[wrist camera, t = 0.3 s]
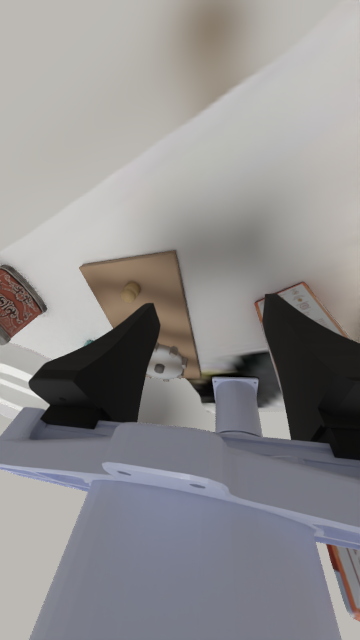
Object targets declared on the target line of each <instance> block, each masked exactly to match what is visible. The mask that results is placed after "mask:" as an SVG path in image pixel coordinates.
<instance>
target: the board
mask: <svg viewBox="0 0 360 640" xmlns="http://www.w3.org/2000/svg"><path fill="white" fill-rule="evenodd" d="M79 269H80V271H81V272H82V274H83V276H84V278H85V279H86V281H87V283H88V285H89V287H90V288H91V290H92V292H93V294H94V295H95V297H96V299H97V301H98V302H99V304H100V306H101V308H102V309H103V311H104V313H105V315H106V317H107V318H108V320H109V322H110V324H111V325H112V327H113V329H114V328H115V327H116V326H118V325H119V324H120V323H121V322H123V321H124V320H125V319H127V318H128V317H129V316H130V315H131V314H133V313H134V312H135V311H136V310H137V309H138V308H140V307H141V306H142V305H144V304H145V303H154V306H155V309H156V312H157V315H158V318H159V321H160V324H161V327H160V332H159V337H158V340H157V343H156V346H155V348H154V351H153V354H152V357H151V359H150V362H149V365H148V368H147V373H146V377H150V378H151V377H154V378H158V379H163V381H169V379H174V378H179V379H181V378H201V371H200V367H199V362H198V357H197V352H196V347H195V343H194V338H193V333H192V328H191V324H190V319H189V314H188V309H187V304H186V300H185V295H184V290H183V285H182V281H181V276H180V271H179V266H178V261H177V257H176V252H175V251H168V252H162V253H155V254H149V255H142V256H135V257H129V258H122V259H116V260H109V261H103V262H96V263H89V264H83V265H82V266H81V267H79Z"/></svg>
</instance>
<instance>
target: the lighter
mask: <svg viewBox="0 0 360 640" xmlns="http://www.w3.org/2000/svg"><path fill="white" fill-rule="evenodd" d="M46 310H47V307H46V305H45V304H44V302H43V301H42V299H41V298H40V296H39V295H38V294H37V292H36V291H35V290H34V289H33V287H32V286H31V285H30V284H29V283H28V282H27V281H26V280H25V279H24V278H23V277H22V276H21V275H20V274H19V273H18V272H17V271H16V270H15V269H14V268H12V267H11V266H8V265H2V266H0V345H5V344H7V343H8V342H9V341H10V340H11V338H12V337H13V336H14V335H15V334H16V333H18V332H19V331H20V330H21V329H23V328H24V327H25V326H26V325H27V324H29V323H30V322H31V321H32V320H34V319H35V318H36V317H37V316H38V315H41V314H43V313H44V312H45V311H46Z"/></svg>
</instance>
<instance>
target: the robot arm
mask: <svg viewBox="0 0 360 640" xmlns="http://www.w3.org/2000/svg"><path fill="white" fill-rule="evenodd" d="M262 323H263V328H264V333H265V336H266V339H267V342H268V345H269V348H270V351H271V353H272V356H273V359H274V362H275V365H276V368H277V371H278V376H279V380H280V384H281V389H282V394H283V398H284V403H285V408H286V413H287V419H288V424H289V430H290V436H291V440H288V439H278V438H268V437H263V436H262V430H261V424H260V418H259V412H258V406H257V400H256V396H257V389H258V378H247V377H213V378H212V382H213V388H214V395H215V402H216V432H210V431H206V430H200V429H196V428H187V427H177V426H167V425H157V424H147V423H137V420H138V412H139V407H140V401H141V395H142V390H143V386H144V381H145V377H146V373H147V368H148V365H149V362H150V359H151V357H152V354H153V351H154V348H155V346H156V343H157V340H158V337H159V332H160V327H161V324H160V321H159V318H158V315H157V312H156V309H155V306H154V303H145V304H144V305H142V306H141V307H140V308H138V309H137V310H136V311H135V312H134V313H133V314H131V315H130V316H129V317H128V318H127V319H125V320H124V321H123V322H121V323H120V324H119V325H118V326H116V327H115V328H114V329H112V330H111V331H109V332H108V333H106V334H105V335H103V336H102V337H100V338H98V339H97V340H95V341H93V342H91V343H89V344H88V345H86V346H84V347H82V348H80V349H78V350H76V351H73V352H71V353H69V354H67V355H64V356H62V357H59V358H57V359H54V360H52V361H49V362H46V363H44V364H43V365H42V367H41V368H40V369H39V370H38V371H37V372H36V373H35V374H34V376H33V377H32V378H31V379H30V380H29V382H28V384H29V388H30V389H31V390H32V391H33V392H34V393H35V394H36V395H38V396H39V397H40V398H42V399H43V400H44V401H45V402H47V403H48V404H49V405H50V406H49V407H48V408H47V410H44V409H41V408H33V407H24V408H23V409H22V410H21V411H20V413H19V414H18V415H17V416H16V418H15V419H14V420H13V421H12V423H11V424H10V425H9V426H8V428H7V429H6V430H5V431H4V432H3V434H2V435H1V436H0V469H2V470H4V471H7V472H11V473H13V474H16V475H19V476H23V477H28V478H32V479H37V480H41V481H45V482H50V483H54V484H58V485H62V486H66V487H71V488H74V489H79V490H82V491H87V492H88V494H87V496H86V499H85V501H84V504H83V506H82V509H81V511H80V514H79V516H78V519H77V521H76V524H75V526H74V529H73V531H72V534H71V536H70V539H69V541H68V544H67V546H66V549H65V551H64V554H63V556H62V559H61V561H60V564H59V566H58V569H57V571H56V574H55V576H54V579H53V582H52V584H51V586H50V589H49V591H48V594H47V596H46V599H45V601H44V604H43V606H42V609H41V611H40V614H39V616H38V619H37V621H36V624H35V626H34V629H33V631H32V634H31V636H30V639H29V640H341V636H340V632H339V628H338V625H337V621H336V617H335V613H334V610H333V606H332V602H331V599H330V594H329V591H328V587H327V583H326V580H325V576H324V572H323V568H322V564H321V561H320V557H319V553H318V549H317V545H316V542H320V543H325V544H330V545H335V546H340V547H346V548H351V549H356V550H360V343H357V342H355V341H353V340H350V339H348V338H346V337H344V336H342V335H340V334H337V333H335V332H333V331H332V330H330V329H328V328H326V327H324V326H322V325H320V324H319V323H317V322H315V321H314V320H312V319H311V318H309V317H308V316H306V315H305V314H303V313H302V312H300V311H299V310H297V309H296V308H295V307H293V306H292V305H291V304H289V303H288V302H287V301H285V300H284V299H283V298H282V297H280V296H279V295H278V294H265V301H264V309H263V318H262Z"/></svg>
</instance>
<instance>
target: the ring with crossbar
mask: <svg viewBox="0 0 360 640" xmlns="http://www.w3.org/2000/svg"><path fill="white" fill-rule="evenodd" d="M49 361H52V360H51V359H49V358H47V357H45V356H43V355H41V354H39V353H37V352H35V351H32V350H30V349H27V348H25V347H22V346H19V345H15V344H12V343H7V344H5V345H0V403H2V404H4V405H7V406H9V407H12V408H14V409H17V410H20V411H21V410H22V409H23V408H24V407H33V408H41V409H44V410H47V408H48V407H49V406H50V405H49V404H48V403H47V402H45V401H44V400H43V399H42V398H40V397H39V396H38V395H36V394H35V393H34V392H33V391H32V390H31V389H30V388H29V384H28V382H29V380H30V379H31V378H32V377H33V376H34V374H35V373H36V372H37V371H38V370H39V369H40V368H41V367H42V365H43V364H44V363H46V362H49Z"/></svg>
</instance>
